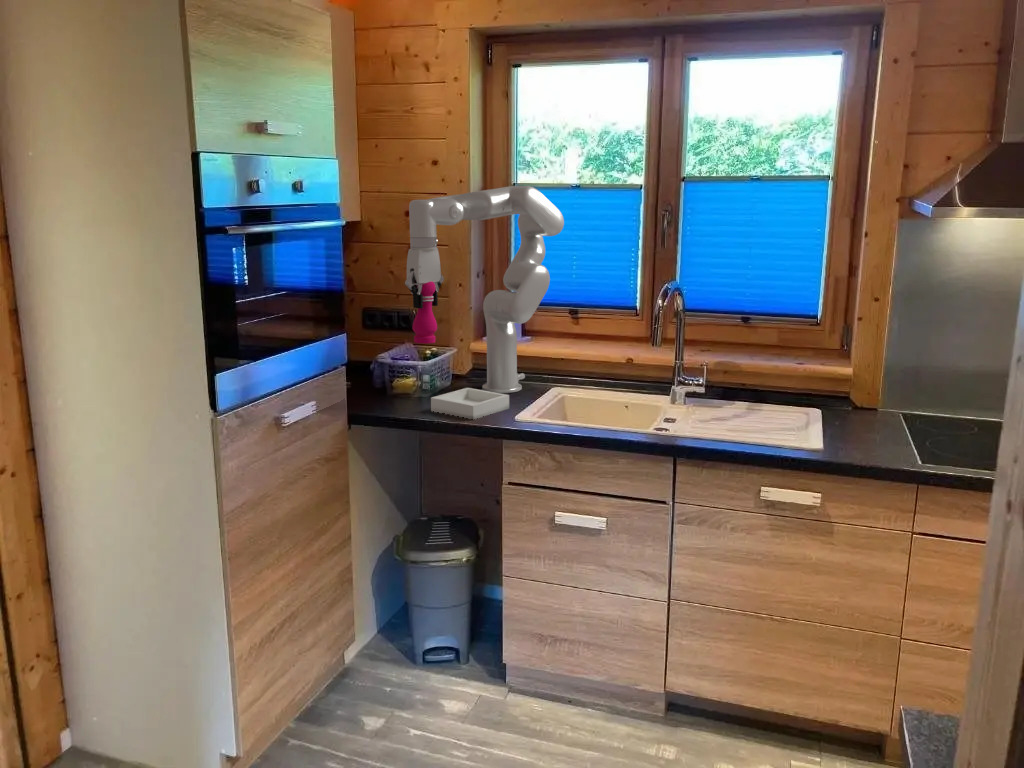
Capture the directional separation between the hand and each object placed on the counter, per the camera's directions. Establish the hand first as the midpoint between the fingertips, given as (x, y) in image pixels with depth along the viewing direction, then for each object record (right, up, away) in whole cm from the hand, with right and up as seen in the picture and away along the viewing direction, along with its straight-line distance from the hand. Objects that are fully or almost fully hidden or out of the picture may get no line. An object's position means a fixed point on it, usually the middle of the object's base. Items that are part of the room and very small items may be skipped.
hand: (425, 306), depth 242 cm
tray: (+13, -30, -1) cm, 33 cm away
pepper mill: (0, -11, +2) cm, 11 cm away
